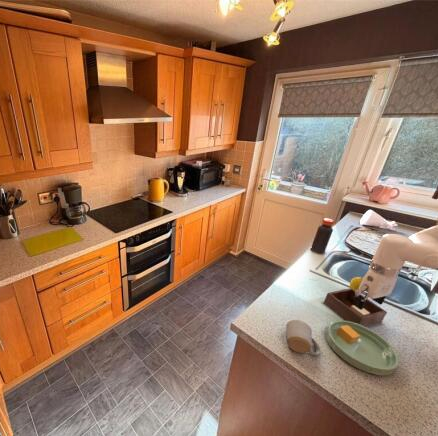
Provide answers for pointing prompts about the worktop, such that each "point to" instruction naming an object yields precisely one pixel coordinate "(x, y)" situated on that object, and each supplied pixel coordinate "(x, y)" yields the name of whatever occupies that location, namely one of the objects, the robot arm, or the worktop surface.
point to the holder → (342, 307)
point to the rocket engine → (376, 220)
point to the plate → (363, 349)
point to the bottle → (322, 236)
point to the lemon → (355, 283)
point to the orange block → (348, 334)
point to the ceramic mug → (300, 337)
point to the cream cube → (360, 311)
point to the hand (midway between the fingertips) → (367, 304)
